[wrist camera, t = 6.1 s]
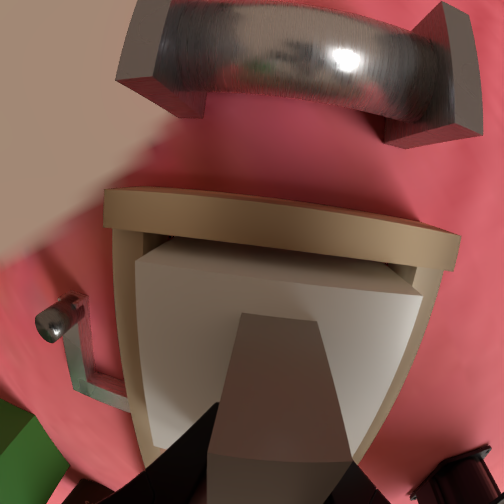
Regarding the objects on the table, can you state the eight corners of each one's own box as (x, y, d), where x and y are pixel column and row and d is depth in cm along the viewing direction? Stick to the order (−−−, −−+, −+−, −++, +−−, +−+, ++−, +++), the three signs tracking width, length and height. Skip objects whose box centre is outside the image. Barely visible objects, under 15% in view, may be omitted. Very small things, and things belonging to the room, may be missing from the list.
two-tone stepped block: (378, 258, 11) (520, 390, 3) (333, 407, 13) (360, 553, 5) (179, 233, 11) (16, 340, 3) (178, 389, 13) (118, 529, 5)
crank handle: (70, 287, 12) (33, 310, 10) (141, 309, 12) (110, 341, 9) (81, 377, 14) (57, 406, 11) (144, 401, 14) (124, 437, 11)
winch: (407, 63, 9) (468, 15, 4) (405, 149, 10) (483, 135, 5) (193, 33, 9) (151, -35, 4) (178, 118, 10) (115, 80, 5)
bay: (421, 222, 10) (461, 236, 7) (305, 508, 16) (306, 535, 13) (143, 186, 11) (104, 189, 8) (167, 491, 16) (159, 518, 14)
